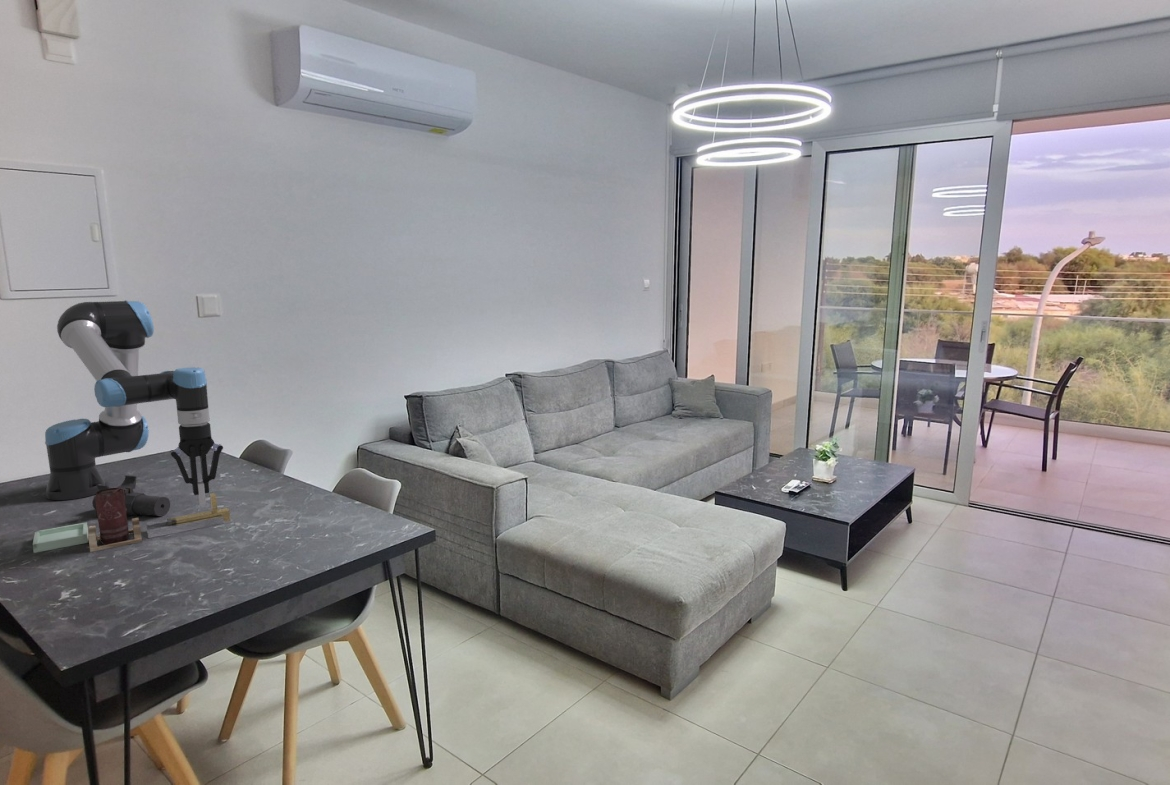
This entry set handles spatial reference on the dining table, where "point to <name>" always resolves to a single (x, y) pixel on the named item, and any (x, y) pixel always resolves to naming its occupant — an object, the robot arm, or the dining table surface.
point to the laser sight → (139, 500)
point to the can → (112, 515)
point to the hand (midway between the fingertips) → (202, 504)
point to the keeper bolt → (202, 514)
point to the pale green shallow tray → (60, 537)
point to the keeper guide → (180, 526)
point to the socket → (94, 538)
